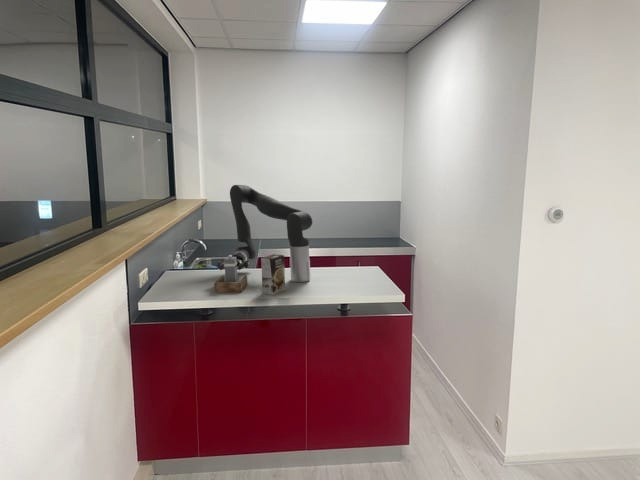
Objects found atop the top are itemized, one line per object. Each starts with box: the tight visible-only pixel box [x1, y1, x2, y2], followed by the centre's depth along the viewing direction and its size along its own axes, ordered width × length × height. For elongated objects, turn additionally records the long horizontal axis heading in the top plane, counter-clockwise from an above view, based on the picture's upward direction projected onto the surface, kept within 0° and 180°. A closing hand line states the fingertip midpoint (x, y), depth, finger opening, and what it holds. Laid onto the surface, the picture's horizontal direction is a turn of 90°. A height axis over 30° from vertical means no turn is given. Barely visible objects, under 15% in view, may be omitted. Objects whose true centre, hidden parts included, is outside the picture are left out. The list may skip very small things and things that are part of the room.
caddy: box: [213, 275, 248, 294], centre depth 205 cm, size 12×13×4 cm
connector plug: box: [223, 254, 239, 282], centre depth 205 cm, size 5×5×14 cm
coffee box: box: [260, 253, 286, 296], centre depth 198 cm, size 9×6×16 cm
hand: (229, 267), depth 203 cm, fingers open, 8 cm apart
